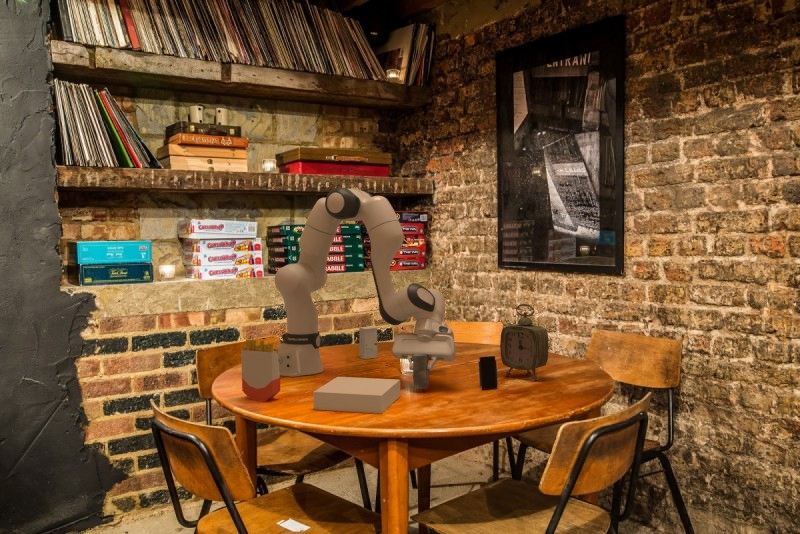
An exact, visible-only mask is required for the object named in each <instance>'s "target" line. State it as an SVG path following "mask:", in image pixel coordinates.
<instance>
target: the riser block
mask: <svg viewBox="0 0 800 534" xmlns="http://www.w3.org/2000/svg"><path fill="white" fill-rule="evenodd" d="M312 392H313V394H312V397H313V410H317V411H318V410H321V411H336V412H352V413H368V414H383V413H384V412H385V411H386V410H387V409H388V408H389V407H390V406H391V405H392V404H394V403H395V402H396V401H397V400H398V399H399V398H400V397H401V379H393V378H392V379H391V378H372V377H371V378H370V377H349V376H337V377H335V378H334V379H331V380H330V381H329V382H327V383H325V384H324V385H322V386H320V387H318V388H317V389H316V390H314V391H312Z"/></svg>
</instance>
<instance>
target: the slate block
mask: <svg viewBox="0 0 800 534" xmlns="http://www.w3.org/2000/svg"><path fill="white" fill-rule="evenodd" d="M412 363H413V370H412V382H413V383H412V386H413V387H412V388H416V389H427V388H428V387H429V382H430V381H429V380H430V379H429V377H430V376H429V372H430V371H427V369H426V367H427V364H430V362H429V360H428V354H414V355H413V362H412Z"/></svg>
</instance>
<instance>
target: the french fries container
mask: <svg viewBox="0 0 800 534" xmlns="http://www.w3.org/2000/svg"><path fill="white" fill-rule="evenodd" d="M273 350H274V351H273ZM240 352H241V354H240V355H241V359H240V360H241V389H242V392H243V393H244V395H245V396H246V397H247V398H248V399H249V400H251V401H260V402H266V401H269V400H271V399H273V398H274V397H276V395H278V393H280V392H281V375H280V371H279V360H278V349H276V348H274V342H268V343H265V340H259V344H258V343H257V340H256V339H250V338H249V339H246V340H245V346H243V347H242V349H241V350H240Z"/></svg>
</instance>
